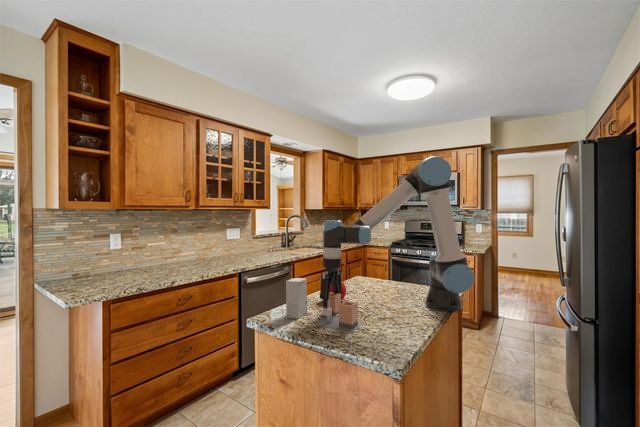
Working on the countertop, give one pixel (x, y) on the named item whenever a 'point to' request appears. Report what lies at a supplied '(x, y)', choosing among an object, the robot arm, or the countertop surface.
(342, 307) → the sleeve seated
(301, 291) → the skincare box
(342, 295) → the tomato
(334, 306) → the sleeve free
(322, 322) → the pin board
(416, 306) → the countertop surface
